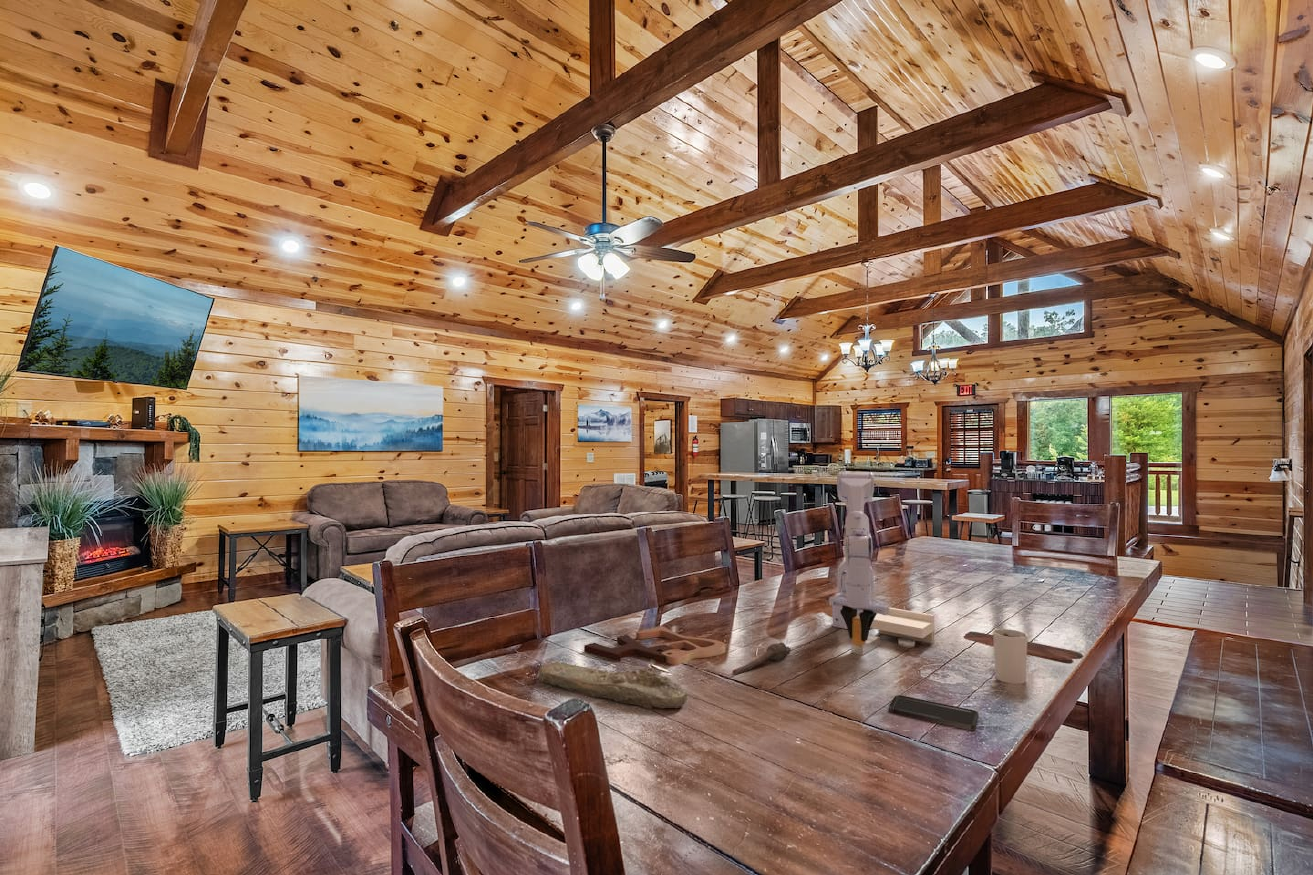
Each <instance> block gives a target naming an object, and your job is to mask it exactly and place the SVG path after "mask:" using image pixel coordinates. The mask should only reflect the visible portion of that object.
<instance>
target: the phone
mask: <svg viewBox="0 0 1313 875" xmlns="http://www.w3.org/2000/svg"><path fill="white" fill-rule="evenodd" d="M888 712H890V713H892V714H895V715H900V716H904V717H909V718H914V719H918V720H922V721H927V722H932V723H937V724H941V725H944V726H950V727H955V728H958V729H963V730H968V731H974V730H976V728H977V725H978V722H979V719H980V718H979V711H976V710H973V709H969V708H964V707H959V706H954V705H949V704H945V703H940V702H936V701H929V700H925V699H921V698H915V697H910V696H905V695H900V694H899V695H898V694H897V695H895V696H894V697H893V698H892V700H891V702H890V703H889V705H888Z"/></svg>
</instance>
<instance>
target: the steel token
mask: <svg viewBox="0 0 1313 875" xmlns="http://www.w3.org/2000/svg"><path fill="white" fill-rule="evenodd" d="M897 645H898V646H899V647H902V648H908V649H909V648H910V649H912V648H913V649H914V648H915V646H916V640H913V639H909V638H901V637H898V638H897Z"/></svg>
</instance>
